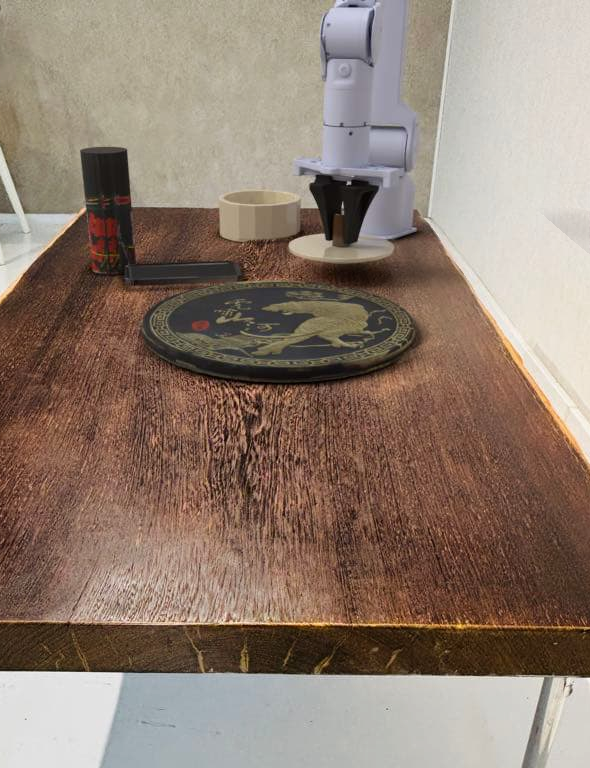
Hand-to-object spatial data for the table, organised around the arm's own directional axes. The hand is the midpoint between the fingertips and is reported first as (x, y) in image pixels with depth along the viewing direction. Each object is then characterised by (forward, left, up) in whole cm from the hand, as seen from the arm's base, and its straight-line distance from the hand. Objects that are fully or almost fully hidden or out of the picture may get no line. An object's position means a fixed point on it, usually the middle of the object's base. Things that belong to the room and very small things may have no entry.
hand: (341, 241), depth 110 cm
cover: (0, 0, -1) cm, 1 cm away
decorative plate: (+22, +7, -5) cm, 24 cm away
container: (-14, -25, -5) cm, 29 cm away
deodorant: (+15, -27, -5) cm, 31 cm away
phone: (+13, -16, -5) cm, 21 cm away
